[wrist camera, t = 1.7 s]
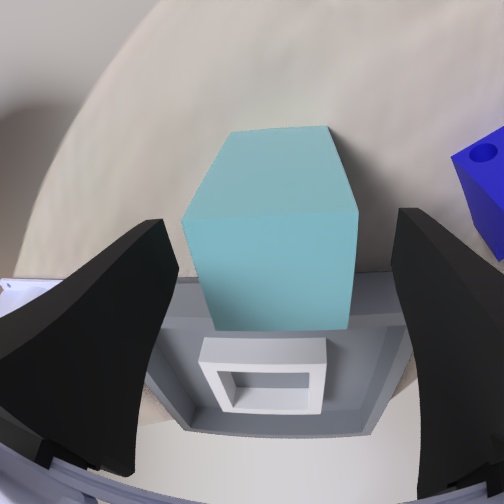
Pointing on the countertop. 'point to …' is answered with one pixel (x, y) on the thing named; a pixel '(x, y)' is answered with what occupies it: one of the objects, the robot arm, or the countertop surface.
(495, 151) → the cable clip
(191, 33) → the countertop surface
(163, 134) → the countertop surface
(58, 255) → the countertop surface
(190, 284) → the grey square tray
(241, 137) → the teal rectangular block
